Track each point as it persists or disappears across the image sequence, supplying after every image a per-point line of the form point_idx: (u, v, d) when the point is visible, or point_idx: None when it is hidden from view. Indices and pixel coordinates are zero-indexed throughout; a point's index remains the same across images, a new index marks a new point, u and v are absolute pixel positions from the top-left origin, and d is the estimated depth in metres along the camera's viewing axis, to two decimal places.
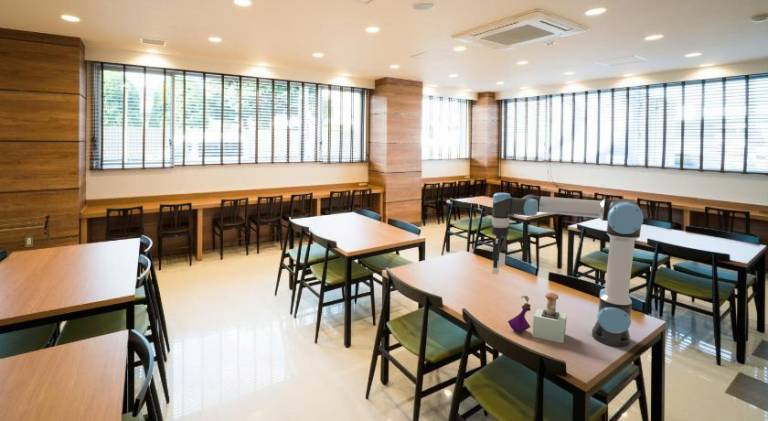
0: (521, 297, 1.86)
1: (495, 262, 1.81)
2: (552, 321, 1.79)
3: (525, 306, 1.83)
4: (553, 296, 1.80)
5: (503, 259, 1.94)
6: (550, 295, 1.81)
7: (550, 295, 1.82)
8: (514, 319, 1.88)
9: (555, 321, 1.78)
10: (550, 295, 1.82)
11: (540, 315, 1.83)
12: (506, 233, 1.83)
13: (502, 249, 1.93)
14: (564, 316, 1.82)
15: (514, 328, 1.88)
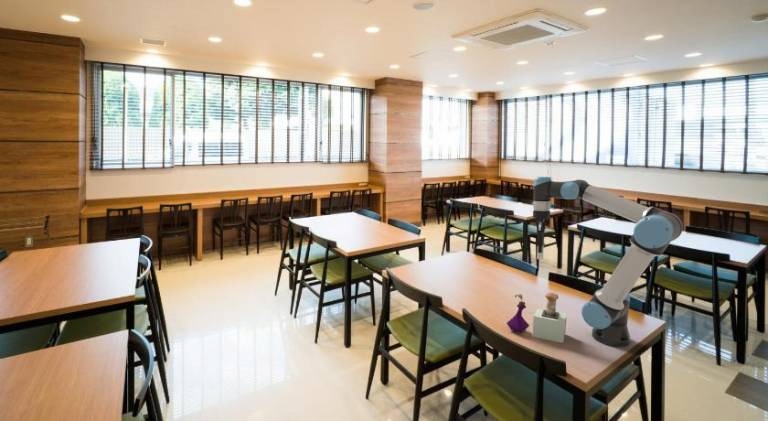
0: (515, 296, 1.89)
1: (540, 247, 1.88)
2: (552, 321, 1.79)
3: (520, 304, 1.85)
4: (553, 296, 1.80)
5: None
6: (550, 295, 1.81)
7: (550, 295, 1.82)
8: (512, 319, 1.89)
9: (555, 321, 1.78)
10: (550, 295, 1.82)
11: (540, 315, 1.83)
12: (548, 216, 1.85)
13: None
14: (564, 316, 1.82)
15: (513, 329, 1.88)
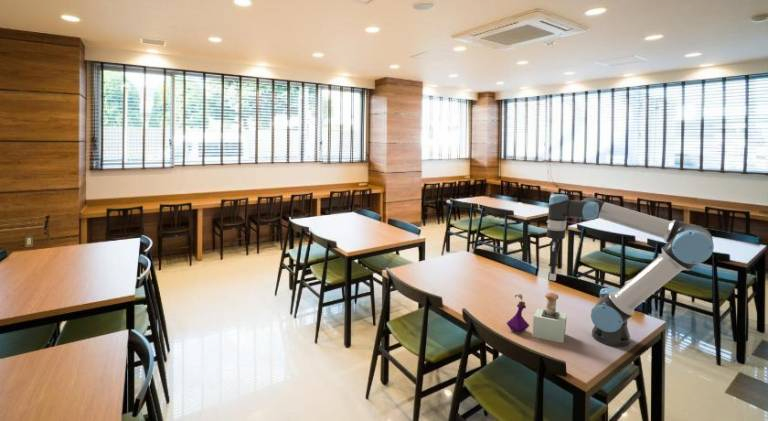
0: (515, 296, 1.89)
1: (553, 268, 1.79)
2: (552, 321, 1.79)
3: (520, 304, 1.85)
4: (553, 296, 1.80)
5: None
6: (550, 295, 1.81)
7: (550, 295, 1.82)
8: (512, 319, 1.89)
9: (555, 321, 1.78)
10: (550, 295, 1.82)
11: (540, 315, 1.83)
12: (563, 236, 1.75)
13: None
14: (564, 316, 1.82)
15: (513, 329, 1.88)
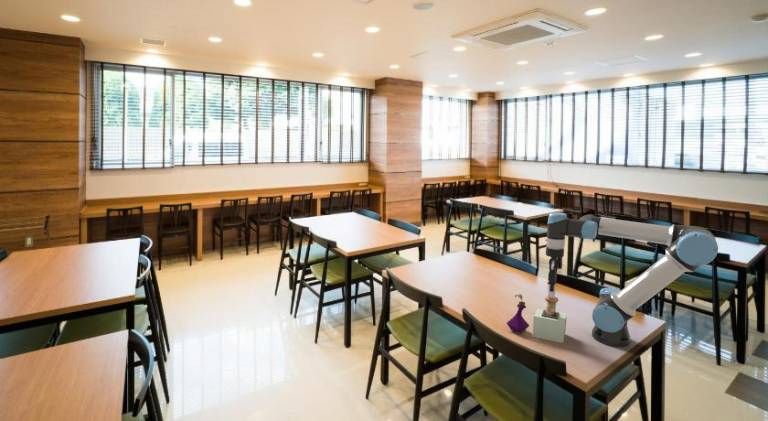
0: (515, 296, 1.89)
1: (552, 286, 1.80)
2: (552, 321, 1.79)
3: (520, 304, 1.85)
4: (553, 299, 1.81)
5: None
6: (550, 298, 1.82)
7: (550, 298, 1.82)
8: (512, 319, 1.89)
9: (555, 321, 1.78)
10: (550, 298, 1.82)
11: (540, 315, 1.83)
12: (562, 255, 1.76)
13: None
14: (564, 316, 1.82)
15: (513, 329, 1.88)
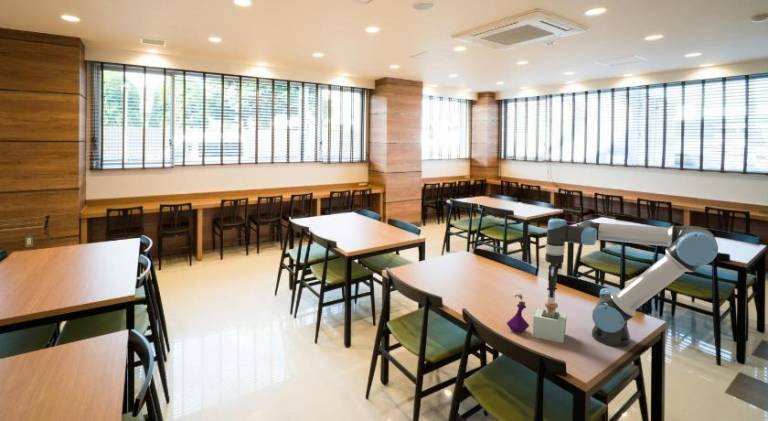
0: (515, 296, 1.89)
1: (551, 292, 1.80)
2: (552, 321, 1.79)
3: (520, 304, 1.85)
4: (552, 305, 1.81)
5: None
6: (549, 304, 1.82)
7: (549, 304, 1.82)
8: (512, 319, 1.89)
9: (555, 321, 1.78)
10: None
11: (540, 315, 1.83)
12: (561, 261, 1.76)
13: None
14: (564, 316, 1.82)
15: (513, 329, 1.88)
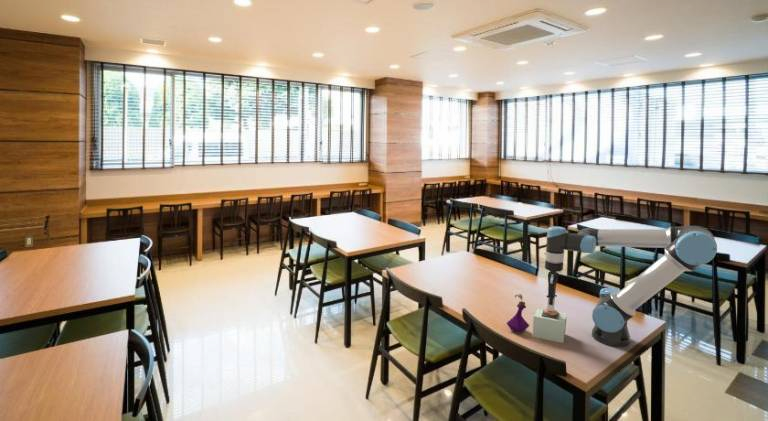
0: (515, 296, 1.89)
1: (551, 299, 1.81)
2: (552, 321, 1.79)
3: (520, 304, 1.85)
4: (552, 312, 1.82)
5: None
6: (549, 311, 1.83)
7: (549, 311, 1.83)
8: (512, 319, 1.89)
9: (555, 321, 1.78)
10: (549, 311, 1.83)
11: (540, 315, 1.83)
12: (561, 269, 1.77)
13: None
14: (564, 316, 1.82)
15: (513, 329, 1.88)
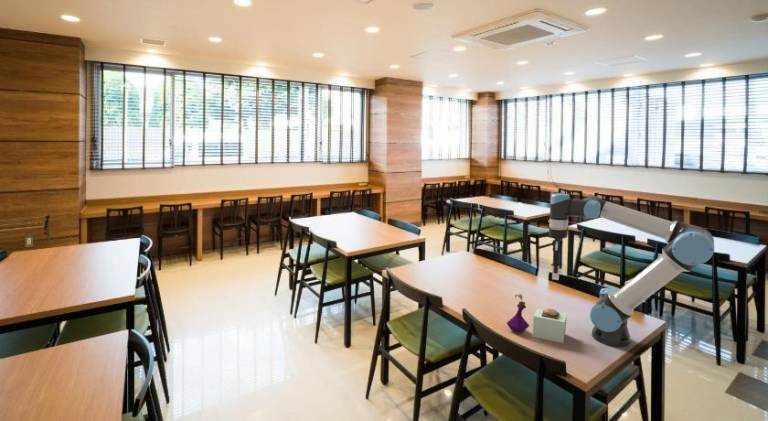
0: (515, 296, 1.89)
1: (556, 267, 1.79)
2: (552, 321, 1.79)
3: (520, 304, 1.85)
4: (552, 312, 1.82)
5: None
6: (549, 311, 1.83)
7: (549, 311, 1.83)
8: (512, 319, 1.89)
9: (555, 321, 1.78)
10: (549, 311, 1.83)
11: (540, 315, 1.83)
12: (565, 236, 1.75)
13: None
14: (564, 316, 1.82)
15: (513, 329, 1.88)
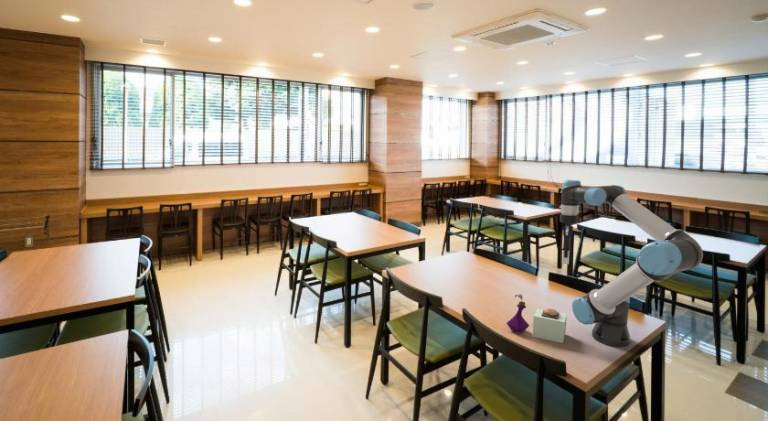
0: (515, 296, 1.89)
1: (566, 252, 1.84)
2: (552, 321, 1.79)
3: (520, 304, 1.85)
4: (552, 312, 1.82)
5: None
6: (549, 311, 1.83)
7: (549, 311, 1.83)
8: (512, 319, 1.89)
9: (555, 321, 1.78)
10: (549, 311, 1.83)
11: (540, 315, 1.83)
12: (576, 221, 1.80)
13: None
14: (564, 316, 1.82)
15: (513, 329, 1.88)
